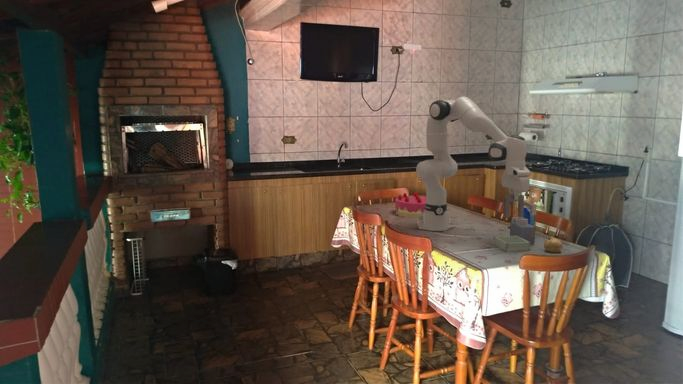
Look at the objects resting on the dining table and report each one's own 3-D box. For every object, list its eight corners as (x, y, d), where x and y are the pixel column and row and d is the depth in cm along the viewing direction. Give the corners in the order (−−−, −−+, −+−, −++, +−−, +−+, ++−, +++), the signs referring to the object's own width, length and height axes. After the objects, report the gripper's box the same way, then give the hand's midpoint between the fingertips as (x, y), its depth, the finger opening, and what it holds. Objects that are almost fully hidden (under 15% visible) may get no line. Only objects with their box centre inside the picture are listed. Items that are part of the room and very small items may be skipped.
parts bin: (493, 244, 252) (494, 236, 252) (516, 243, 254) (516, 235, 254) (506, 251, 240) (506, 243, 239) (529, 250, 242) (530, 242, 241)
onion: (557, 249, 244) (558, 234, 243) (565, 253, 237) (566, 239, 235) (540, 249, 244) (541, 234, 243) (548, 254, 236) (549, 239, 235)
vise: (507, 238, 264) (508, 216, 262) (521, 237, 265) (522, 216, 263) (520, 245, 250) (521, 222, 248) (535, 244, 252) (536, 222, 250)
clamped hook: (516, 224, 259) (518, 199, 257) (520, 224, 260) (521, 199, 257) (531, 231, 246) (532, 204, 243) (534, 231, 246) (536, 204, 244)
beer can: (513, 235, 270) (515, 205, 268) (525, 233, 274) (527, 204, 271) (525, 238, 263) (527, 208, 260) (537, 236, 266) (539, 206, 264)
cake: (393, 209, 338) (394, 190, 336) (436, 209, 337) (436, 191, 335) (396, 218, 311) (396, 198, 309) (442, 219, 310) (443, 198, 308)
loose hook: (504, 217, 245) (504, 195, 243) (521, 216, 246) (522, 194, 244) (506, 218, 243) (506, 196, 241) (523, 216, 244) (524, 195, 242)
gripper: (498, 167, 250) (497, 195, 253) (519, 172, 230) (518, 202, 233) (510, 167, 251) (509, 195, 254) (532, 172, 231) (531, 202, 234)
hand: (514, 198), depth 243 cm, fingers closed on loose hook, 2 cm apart
